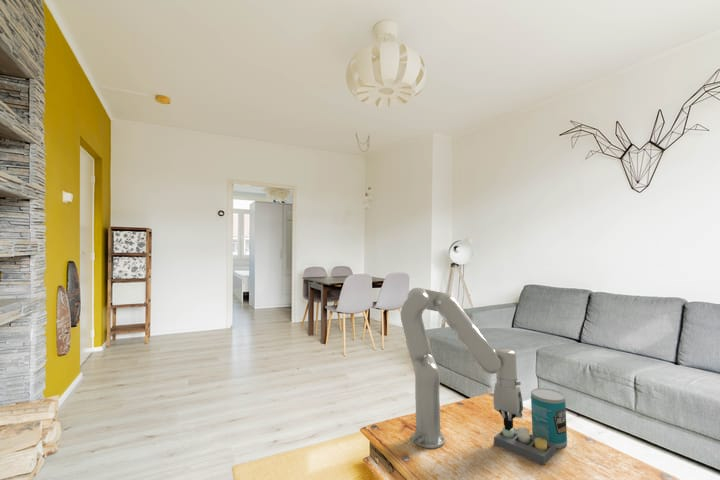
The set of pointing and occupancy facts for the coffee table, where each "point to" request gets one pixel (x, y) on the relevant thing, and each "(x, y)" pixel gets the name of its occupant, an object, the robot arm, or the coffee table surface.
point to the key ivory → (523, 435)
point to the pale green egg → (508, 433)
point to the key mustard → (541, 444)
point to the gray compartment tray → (525, 447)
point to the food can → (549, 416)
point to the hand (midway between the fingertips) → (508, 428)
